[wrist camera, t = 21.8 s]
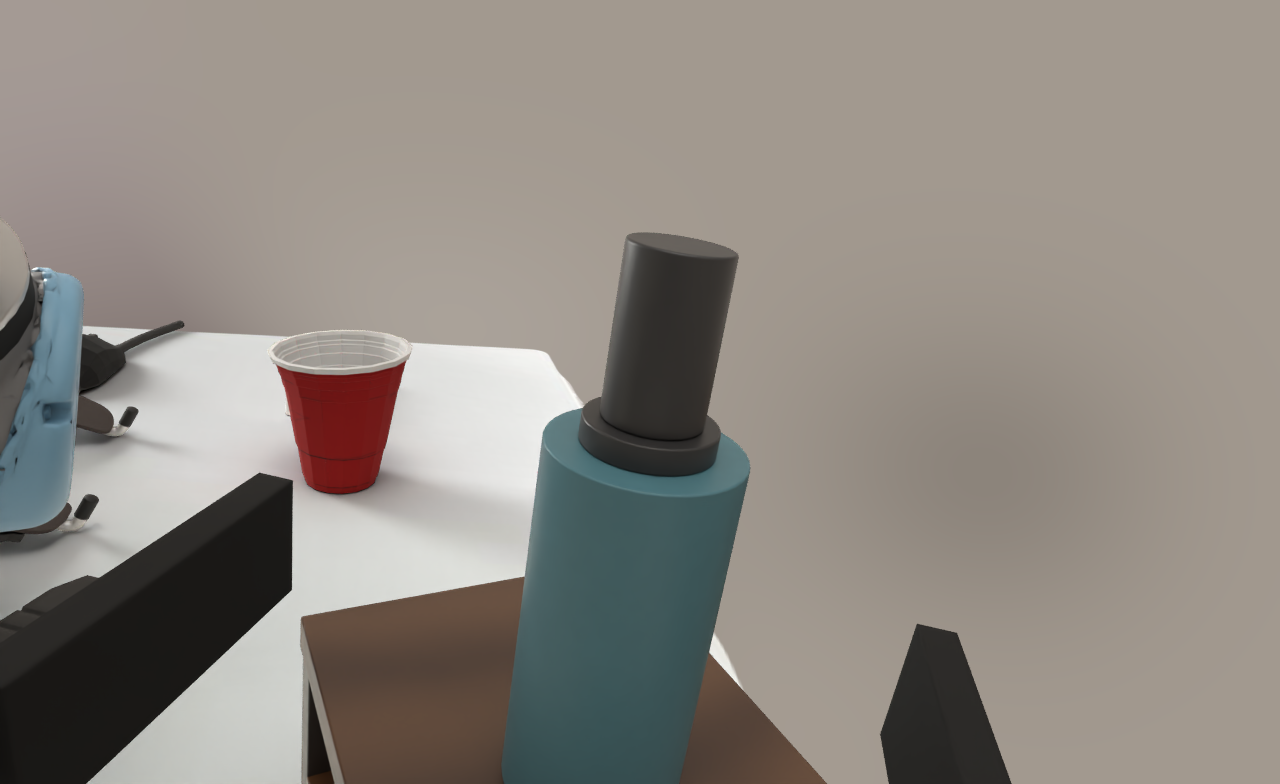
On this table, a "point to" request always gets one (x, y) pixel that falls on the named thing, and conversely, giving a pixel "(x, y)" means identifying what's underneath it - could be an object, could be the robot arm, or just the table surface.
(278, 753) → the table surface
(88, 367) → the gaming mouse
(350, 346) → the plastic cup
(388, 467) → the table surface
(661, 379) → the capped bottle
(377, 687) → the coffee table
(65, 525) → the laptop tray
